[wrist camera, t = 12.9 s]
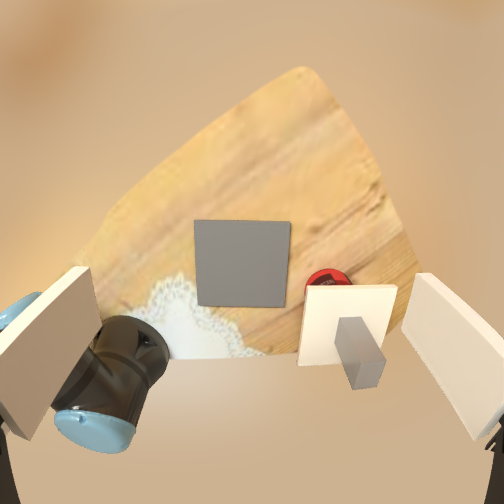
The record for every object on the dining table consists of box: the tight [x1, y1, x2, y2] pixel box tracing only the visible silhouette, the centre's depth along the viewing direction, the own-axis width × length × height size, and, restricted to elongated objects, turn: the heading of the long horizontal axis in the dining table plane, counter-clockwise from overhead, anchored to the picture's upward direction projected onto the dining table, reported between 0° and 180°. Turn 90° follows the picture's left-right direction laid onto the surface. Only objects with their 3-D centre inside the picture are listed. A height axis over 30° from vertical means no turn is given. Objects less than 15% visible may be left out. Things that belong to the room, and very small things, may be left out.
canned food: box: [305, 269, 353, 295], centre depth 42 cm, size 8×8×11 cm
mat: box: [194, 220, 291, 307], centre depth 45 cm, size 14×14×1 cm
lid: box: [297, 284, 397, 390], centre depth 32 cm, size 12×12×10 cm
